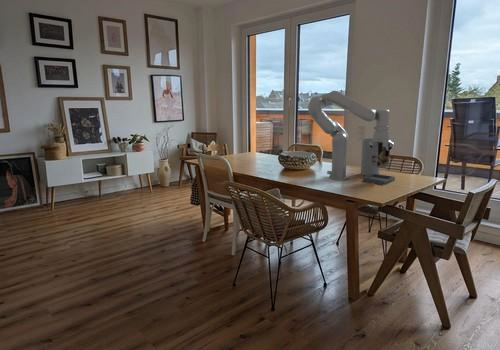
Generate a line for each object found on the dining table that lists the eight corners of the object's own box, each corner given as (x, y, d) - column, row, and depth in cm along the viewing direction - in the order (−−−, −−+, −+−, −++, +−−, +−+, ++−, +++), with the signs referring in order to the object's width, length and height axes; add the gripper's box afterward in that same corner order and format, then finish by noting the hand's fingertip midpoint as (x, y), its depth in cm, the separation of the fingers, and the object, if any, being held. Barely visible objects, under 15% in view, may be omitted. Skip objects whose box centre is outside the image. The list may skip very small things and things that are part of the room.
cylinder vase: (359, 175, 244) (360, 140, 239) (362, 172, 255) (364, 138, 250) (377, 177, 239) (380, 141, 233) (380, 173, 249) (382, 138, 244)
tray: (362, 181, 228) (362, 177, 227) (373, 177, 239) (373, 173, 238) (384, 184, 218) (384, 181, 217) (394, 180, 229) (394, 176, 228)
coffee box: (377, 168, 222) (379, 142, 218) (370, 166, 227) (372, 141, 224) (389, 166, 225) (390, 141, 221) (381, 165, 231) (383, 140, 227)
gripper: (366, 128, 224) (365, 155, 228) (393, 130, 212) (391, 158, 216) (371, 127, 229) (370, 154, 233) (398, 129, 217) (396, 156, 221)
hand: (380, 155), depth 225 cm, fingers closed on coffee box, 8 cm apart
